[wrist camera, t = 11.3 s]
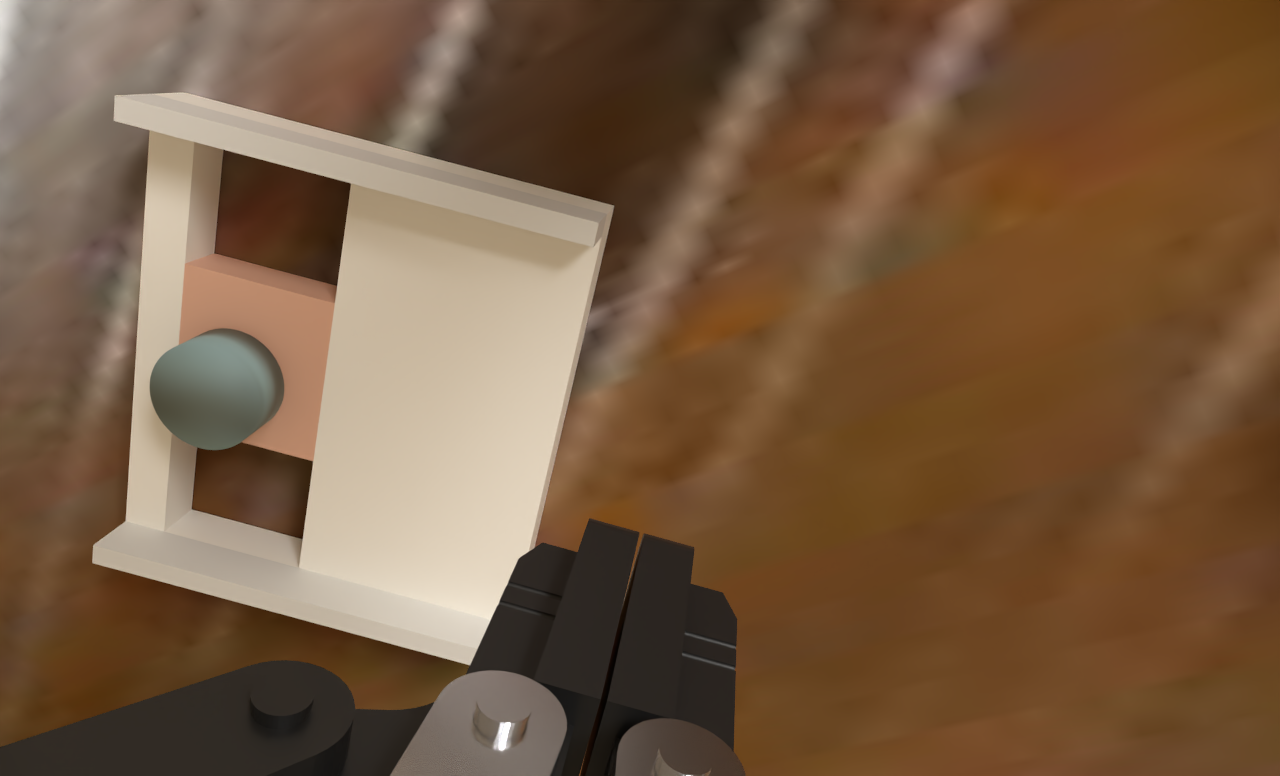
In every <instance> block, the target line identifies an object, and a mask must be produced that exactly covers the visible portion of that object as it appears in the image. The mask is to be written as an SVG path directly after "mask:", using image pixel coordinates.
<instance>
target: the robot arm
mask: <svg viewBox="0 0 1280 776" xmlns="http://www.w3.org/2000/svg"><path fill="white" fill-rule="evenodd" d="M638 537H639V532H637V531H633V530H630V529H626V528H622V527H619V526H615V525H612V524H608V523H604V522H601V521H597V520H594V519H589V521H588V524H587V527H586V530H585V532H584V535H583V538H582V541H581V544H580V547H579V550H578V552H574V551H571V550H567V549H564V548H560V547H556V546H553V545H549V544H546V543H541V544H540V545H538V546H537V547H535V548H534V549H532V550H531V551H529V552H528V553H526V554H524V555H523V556H521V557H520V558H519V559H518V561H517V563H516V565H515V568H514V570H513V572H512V574H511V576H510V579H509V581H508V584H507V586H506V587H505V590H504V592H503V594H502V596H501V598H500V601H499V604H498V605H497V607H496V609H495V612H494V614H493V616H492V618H491V620H490V623H489V625H488V627H487V629H486V631H485V634H484V636H483V638H482V640H481V642H480V645H479V647H478V649H477V651H476V653H475V656H474V658H473V660H472V662H471V664H470V667H469V669H468V671H467V673H466V675H464V676H461V677H459V678H457V679H456V680H454V681H452V682H451V683H450V684H449V685H447V686H446V687H445V688H444V689H443V691H442V692H441V693H440V695H439V696H438V698H437V699H436V701H435V702H433V703H431V704H428V705H425V706H421V707H417V708H412V709H405V710H366V709H355V704H354V699H353V696H352V693H351V691H350V690H349V688H348V687H347V685H346V684H345V683H344V682H343V681H342V680H341V679H340V678H339V677H337V676H336V675H335V674H333V673H332V672H330V671H328V670H326V669H324V668H322V667H319V666H316V665H313V664H310V663H304V662H299V661H287V660H285V661H270V662H263V663H258V664H255V665H251V666H247V667H244V668H241V669H238V670H235V671H232V672H229V673H226V674H223V675H220V676H217V677H214V678H211V679H208V680H205V681H202V682H198V683H195V684H192V685H189V686H186V687H183V688H180V689H177V690H174V691H171V692H168V693H165V694H162V695H159V696H156V697H153V698H149V699H146V700H143V701H140V702H137V703H134V704H131V705H128V706H125V707H122V708H119V709H116V710H113V711H110V712H107V713H104V714H100V715H97V716H94V717H91V718H88V719H85V720H82V721H79V722H76V723H73V724H70V725H67V726H64V727H61V728H58V729H55V730H51V731H48V732H45V733H42V734H39V735H36V736H33V737H30V738H27V739H24V740H21V741H18V742H15V743H12V744H9V745H6V746H2V747H0V776H579V773H580V770H581V766H582V763H583V766H582V770H581V775H580V776H746V775H745V771H744V769H743V766H742V764H741V762H740V761H739V759H738V757H737V756H736V754H735V753H734V751H733V748H734V711H735V674H736V671H735V667H736V650H735V648H736V637H737V618H736V616H735V614H734V613H733V611H732V609H731V607H730V605H729V603H728V602H727V600H726V598H725V596H724V594H723V593H722V592H718V591H715V590H711V589H708V588H704V587H700V586H697V585H693V584H690V583H691V574H692V565H693V557H694V547H691V546H688V545H684V544H681V543H677V542H673V541H670V540H666V539H663V538H659V537H655V536H652V535H648V534H645V533H644V534H643V537H642V540H641V544H640V547H639V550H638V554H637V557H636V561H635V564H634V568H633V571H632V575H631V578H630V582H629V585H628V589H627V584H628V580H629V576H630V571H631V567H632V563H633V558H634V554H635V550H636V545H637V541H638ZM626 589H627V592H626ZM625 593H626V596H625ZM624 597H625V599H624ZM623 602H624V603H623ZM585 752H586V753H585ZM584 756H585V758H584ZM583 759H584V762H583Z"/></svg>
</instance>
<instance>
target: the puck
mask: <svg viewBox="0 0 1280 776" xmlns="http://www.w3.org/2000/svg"><path fill="white" fill-rule="evenodd" d="M150 396H151V401H152V404H153V407H154V409H155V411H156V413H157V415H158V417H159V419H160V420H161V421H162V423H163V424H164V425H165V426H166V428H167V429H168V430H169V431H170V432H171V433H173V434H174V435H175V436H176V437H178V438H179V439H180V440H182V441H184V442H186V443H187V444H190V445H192V446H194V447H198V448H201V449H207V450H222V449H227V448H230V447H233V446H235V445H237V444H239V443H241V442H242V441H243V440H244V439H246V438H247V437H248V436H250V435H251V434H252V433H254V432H255V431H256V430H258V429H259V428H260V427H262V426H263V425H264V424H266V423H267V422H268V421H270V420H271V419H272V418H273V417H274V416H275V415H276V413H277V412H278V410H279V408H280V406H281V404H282V401H283V397H284V379H283V375H282V371H281V369H280V366H279V364H278V362H277V360H276V359H275V357H274V356H273V354H272V353H271V352H270V351H269V349H268V348H267V347H266V346H265V345H264V344H262V343H261V342H260V341H259V340H257V339H256V338H254V337H253V336H251V335H249V334H247V333H244V332H242V331H238V330H235V329H228V328H220V329H213V330H209V331H207V332H204V333H202V334H200V335H198V336H196V337H194V338H192V339H190V340H188V341H186V342H184V343H182V344H180V345H178V346H176V347H174V348H172V349H170V350H168V351H167V352H166V353H164V354H163V355H162V356H161V357H160V358H159V359H158V361H157V362H156V364H155V366H154V368H153V370H152V373H151V377H150Z"/></svg>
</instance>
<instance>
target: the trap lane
mask: <svg viewBox="0 0 1280 776" xmlns="http://www.w3.org/2000/svg"><path fill="white" fill-rule="evenodd" d="M114 121H117V122H121V123H124V124H128V125H132V126H136V127H140V128H143V129H147V130H150V133H149V150H148V166H147V182H146V199H145V215H144V231H143V248H142V264H141V280H140V296H139V313H138V329H137V345H136V362H135V378H134V394H133V410H132V427H131V443H130V459H129V476H128V492H127V508H126V521H125V522H124V523H123V524H121V525H120V526H118V527H117V528H116V529H114V530H113V531H112V532H110V533H109V534H108V535H106V536H105V537H104V538H102V539H101V540H100V541H98V542H97V543H95V544H94V545H93V560H92V563H94V564H98V565H102V566H105V567H109V568H113V569H116V570H120V571H124V572H127V573H131V574H135V575H138V576H142V577H146V578H150V579H153V580H157V581H161V582H164V583H168V584H172V585H175V586H179V587H183V588H186V589H190V590H194V591H198V592H201V593H205V594H209V595H212V596H216V597H220V598H223V599H227V600H231V601H235V602H238V603H242V604H246V605H249V606H253V607H257V608H260V609H264V610H268V611H271V612H275V613H279V614H283V615H286V616H290V617H294V618H297V619H301V620H305V621H308V622H312V623H316V624H319V625H323V626H327V627H331V628H334V629H338V630H342V631H345V632H349V633H353V634H356V635H360V636H364V637H367V638H371V639H375V640H379V641H382V642H386V643H390V644H393V645H397V646H401V647H404V648H408V649H412V650H416V651H419V652H423V653H427V654H430V655H434V656H438V657H441V658H445V659H449V660H452V661H456V662H460V663H464V664H467V665H470V664H471V662H472V660H473V658H474V656H475V653H476V651H477V649H478V647H479V645H480V642H481V640H482V638H483V636H484V634H485V631H486V629H487V627H488V625H489V623H490V620H491V618H492V616H493V614H494V612H495V609H496V607H497V605H498V604H499V601H500V598H501V596H502V594H503V592H504V590H505V587H506V586H507V584H508V581H509V579H510V576H511V574H512V572H513V570H514V568H515V565H516V563H517V561H518V559H519V558H520V557H521V556H523V555H524V554H526V553H528V552H529V551H531V550H532V549H534V547H535V543H536V539H537V534H538V530H539V526H540V522H541V517H542V513H543V509H544V505H545V500H546V496H547V492H548V487H549V483H550V479H551V475H552V470H553V466H554V462H555V458H556V453H557V449H558V445H559V441H560V436H561V432H562V428H563V423H564V419H565V415H566V411H567V406H568V402H569V398H570V394H571V389H572V385H573V381H574V376H575V372H576V368H577V364H578V359H579V355H580V351H581V347H582V342H583V338H584V334H585V330H586V325H587V321H588V317H589V312H590V308H591V304H592V300H593V295H594V291H595V287H596V283H597V278H598V274H599V270H600V265H601V261H602V257H603V253H604V248H605V244H606V240H607V236H608V231H609V227H610V223H611V219H612V214H613V210H614V205H610V204H606V203H602V202H598V201H595V200H591V199H587V198H583V197H579V196H576V195H572V194H568V193H564V192H561V191H557V190H553V189H549V188H545V187H542V186H538V185H534V184H530V183H526V182H523V181H519V180H515V179H511V178H507V177H504V176H500V175H496V174H492V173H488V172H485V171H481V170H477V169H473V168H469V167H466V166H462V165H458V164H454V163H450V162H447V161H443V160H439V159H435V158H432V157H428V156H424V155H420V154H416V153H413V152H409V151H405V150H401V149H397V148H394V147H390V146H386V145H382V144H378V143H375V142H371V141H367V140H363V139H359V138H356V137H352V136H348V135H344V134H340V133H337V132H333V131H329V130H325V129H321V128H318V127H314V126H310V125H306V124H303V123H299V122H295V121H291V120H287V119H284V118H280V117H276V116H272V115H268V114H265V113H261V112H257V111H253V110H249V109H246V108H242V107H238V106H234V105H230V104H227V103H223V102H219V101H215V100H211V99H208V98H204V97H200V96H196V95H192V94H189V93H185V92H184V93H160V94H137V95H115V105H114ZM223 150H227V151H230V152H234V153H238V154H242V155H246V156H249V157H253V158H257V159H261V160H264V161H268V162H272V163H276V164H280V165H283V166H287V167H291V168H295V169H299V170H302V171H306V172H310V173H314V174H317V175H321V176H325V177H329V178H333V179H336V180H340V181H344V182H348V183H351V188H350V196H349V203H348V210H347V218H346V225H345V232H344V240H343V247H342V254H341V262H340V269H339V277H338V284H337V286H336V285H332V284H328V283H324V282H320V281H317V280H313V279H309V278H305V277H302V276H298V275H294V274H290V273H287V272H283V271H279V270H275V269H272V268H268V267H264V266H260V265H257V264H253V263H249V262H245V261H241V260H238V259H234V258H230V257H226V256H223V255H219V254H215V253H214V251H215V239H216V228H217V217H218V205H219V194H220V183H221V172H222V160H223ZM220 328H228V329H235V330H238V331H242V332H244V333H247V334H249V335H251V336H253V337H254V338H256V339H257V340H259V341H260V342H261V343H262V344H264V345H265V346H266V347H267V348H268V349H269V351H270V352H271V353H272V354H273V356H274V357H275V359H276V360H277V362H278V364H279V366H280V369H281V371H282V375H283V379H284V397H283V401H282V404H281V406H280V408H279V410H278V412H277V413H276V415H275V416H274V417H273V418H272V419H271V420H270V421H268V422H267V423H266V424H264V425H263V426H262V427H260V428H259V429H258V430H256V431H255V432H254V433H252V434H251V435H250V436H248V437H247V438H246V439H244V440H243V441H242V442H243V443H247V444H250V445H254V446H258V447H262V448H265V449H269V450H273V451H276V452H280V453H284V454H288V455H291V456H295V457H299V458H303V459H306V460H310V461H313V467H312V475H311V482H310V490H309V497H308V504H307V512H306V519H305V526H304V534H303V539H300V538H296V537H293V536H289V535H285V534H281V533H278V532H274V531H270V530H267V529H263V528H259V527H255V526H252V525H248V524H244V523H241V522H237V521H233V520H229V519H226V518H222V517H218V516H215V515H211V514H207V513H204V512H200V511H196V510H192V500H193V488H194V477H195V466H196V454H197V447H194V446H192V445H190V444H187V443H186V442H184V441H182V440H180V439H179V438H178V437H176V436H175V435H174V434H173V433H171V432H170V431H169V430H168V429H167V428H166V426H165V425H164V424H163V423H162V421H161V420H160V419H159V417H158V415H157V413H156V411H155V409H154V407H153V404H152V401H151V396H150V377H151V373H152V370H153V368H154V366H155V364H156V362H157V361H158V359H159V358H160V357H161V356H162V355H163V354H164V353H166V352H167V351H168V350H170V349H172V348H174V347H176V346H178V345H180V344H182V343H184V342H186V341H188V340H190V339H192V338H194V337H196V336H198V335H200V334H202V333H204V332H207V331H209V330H213V329H220Z"/></svg>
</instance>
